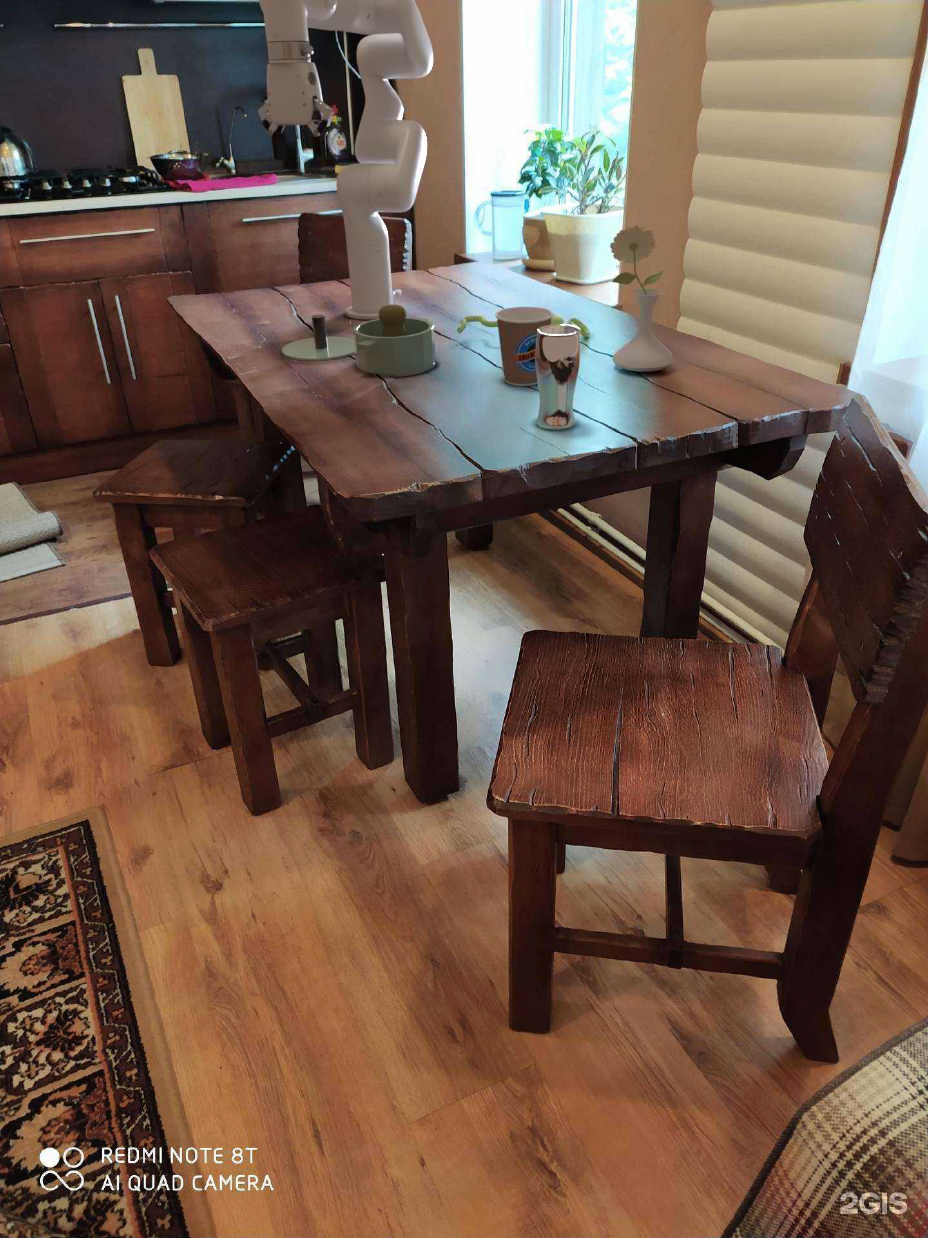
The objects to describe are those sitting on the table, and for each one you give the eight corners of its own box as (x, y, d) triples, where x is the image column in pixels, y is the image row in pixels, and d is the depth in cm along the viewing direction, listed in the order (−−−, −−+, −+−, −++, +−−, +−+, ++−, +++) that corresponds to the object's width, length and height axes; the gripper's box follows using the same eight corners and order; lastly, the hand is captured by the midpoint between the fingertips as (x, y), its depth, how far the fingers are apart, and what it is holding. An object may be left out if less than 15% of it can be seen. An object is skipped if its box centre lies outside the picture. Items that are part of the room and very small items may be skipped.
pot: (333, 374, 172) (328, 335, 168) (393, 347, 187) (390, 311, 183) (399, 385, 165) (396, 345, 161) (456, 355, 180) (455, 318, 176)
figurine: (446, 345, 187) (445, 317, 184) (537, 321, 201) (537, 295, 198) (507, 363, 175) (507, 334, 172) (599, 336, 189) (601, 308, 186)
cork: (407, 368, 173) (403, 309, 167) (376, 367, 174) (372, 308, 168) (414, 359, 178) (411, 301, 172) (385, 358, 179) (380, 301, 173)
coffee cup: (513, 392, 160) (513, 323, 153) (485, 377, 167) (484, 311, 161) (562, 382, 163) (564, 315, 157) (533, 368, 171) (534, 303, 165)
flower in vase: (676, 361, 173) (690, 220, 159) (668, 379, 164) (681, 231, 150) (609, 356, 176) (617, 218, 163) (597, 374, 167) (604, 229, 154)
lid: (266, 357, 183) (260, 321, 179) (315, 338, 194) (311, 303, 190) (329, 367, 176) (325, 329, 172) (377, 346, 187) (374, 310, 183)
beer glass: (531, 417, 149) (532, 324, 141) (572, 415, 149) (576, 322, 141) (537, 432, 143) (539, 336, 135) (581, 429, 143) (585, 334, 135)
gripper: (339, 52, 162) (348, 158, 171) (266, 55, 170) (278, 156, 179) (313, 52, 157) (323, 162, 166) (239, 55, 164) (252, 160, 173)
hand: (300, 159), depth 172 cm, fingers open, 9 cm apart
